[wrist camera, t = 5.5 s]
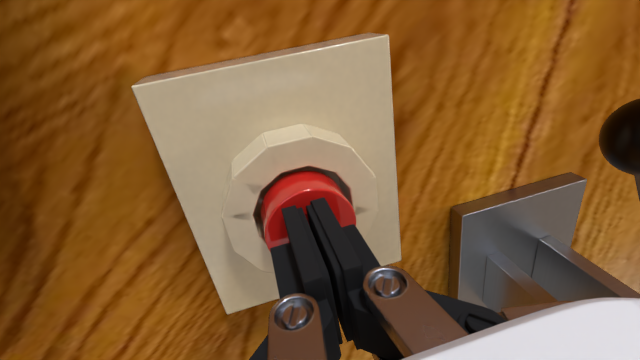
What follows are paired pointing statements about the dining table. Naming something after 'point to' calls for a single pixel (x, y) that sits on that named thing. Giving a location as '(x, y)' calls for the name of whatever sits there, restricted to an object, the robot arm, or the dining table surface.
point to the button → (301, 202)
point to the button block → (276, 148)
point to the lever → (623, 139)
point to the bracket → (525, 249)
